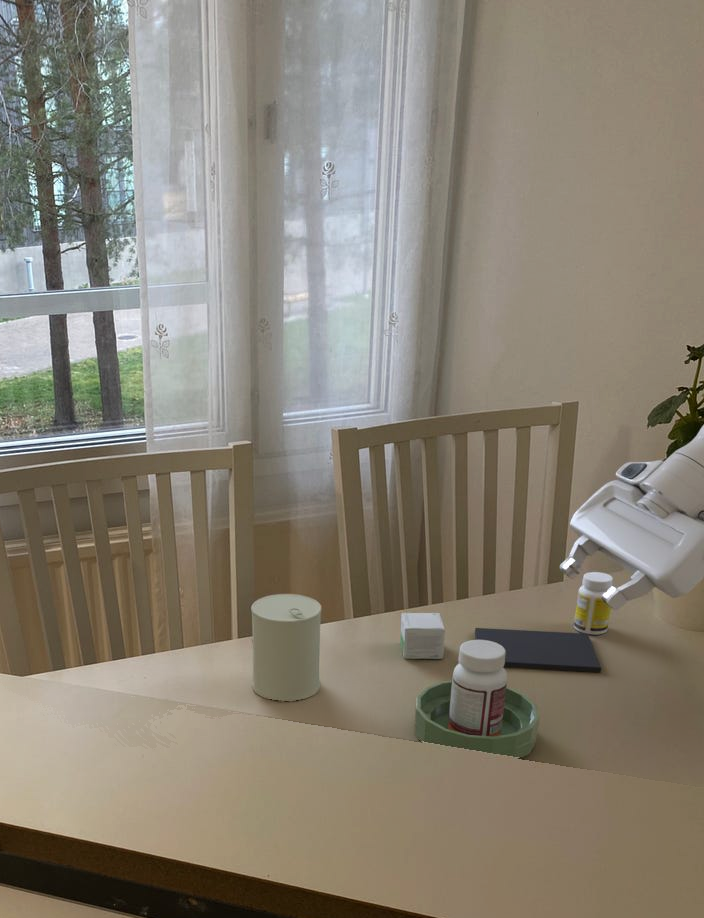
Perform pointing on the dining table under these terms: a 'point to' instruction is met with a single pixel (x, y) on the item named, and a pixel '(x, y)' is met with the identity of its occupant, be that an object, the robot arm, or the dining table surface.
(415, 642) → the small box
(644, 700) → the dining table surface
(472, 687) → the pill bottle
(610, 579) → the supplement bottle
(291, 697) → the can
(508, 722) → the bowl
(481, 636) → the mat
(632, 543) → the robot arm
